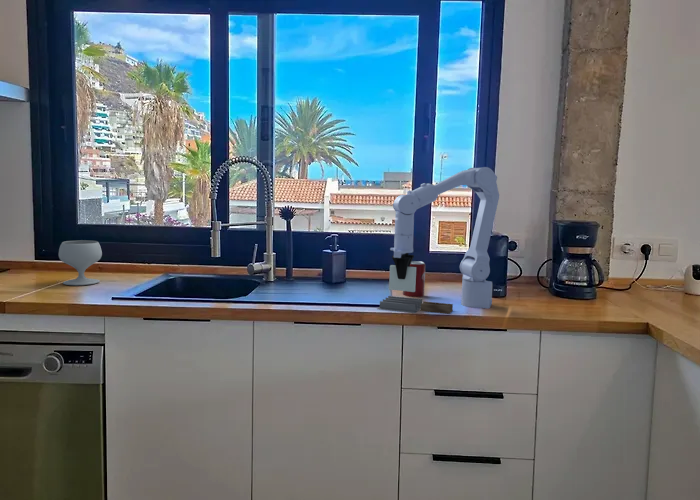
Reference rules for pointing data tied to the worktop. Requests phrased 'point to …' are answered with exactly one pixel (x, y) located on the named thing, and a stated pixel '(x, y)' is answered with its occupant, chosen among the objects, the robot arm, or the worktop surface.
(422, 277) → the soda can
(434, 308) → the stand
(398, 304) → the rack
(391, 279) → the light grey block
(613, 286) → the worktop surface
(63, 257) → the chalice
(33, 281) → the worktop surface
